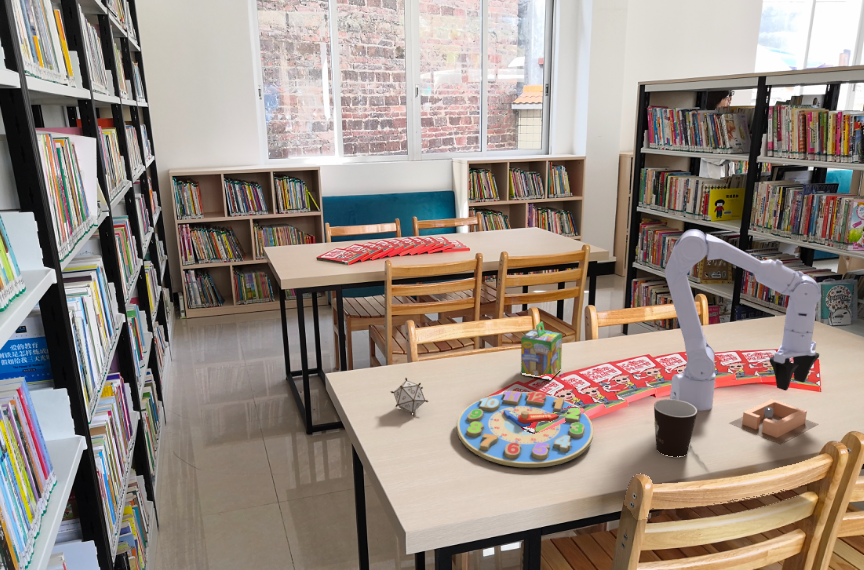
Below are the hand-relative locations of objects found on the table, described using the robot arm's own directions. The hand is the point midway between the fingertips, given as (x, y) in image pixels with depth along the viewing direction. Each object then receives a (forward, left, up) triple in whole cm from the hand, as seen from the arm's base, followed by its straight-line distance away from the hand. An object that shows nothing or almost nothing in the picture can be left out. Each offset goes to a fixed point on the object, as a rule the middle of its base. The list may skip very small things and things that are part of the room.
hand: (790, 384), depth 145 cm
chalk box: (-53, +30, -10) cm, 62 cm away
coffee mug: (-30, -12, -10) cm, 34 cm away
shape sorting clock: (-62, -6, -10) cm, 63 cm away
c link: (-5, -3, -8) cm, 10 cm away
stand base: (-5, -3, -9) cm, 11 cm away
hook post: (-7, -5, -8) cm, 12 cm away
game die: (-89, +6, -10) cm, 90 cm away
